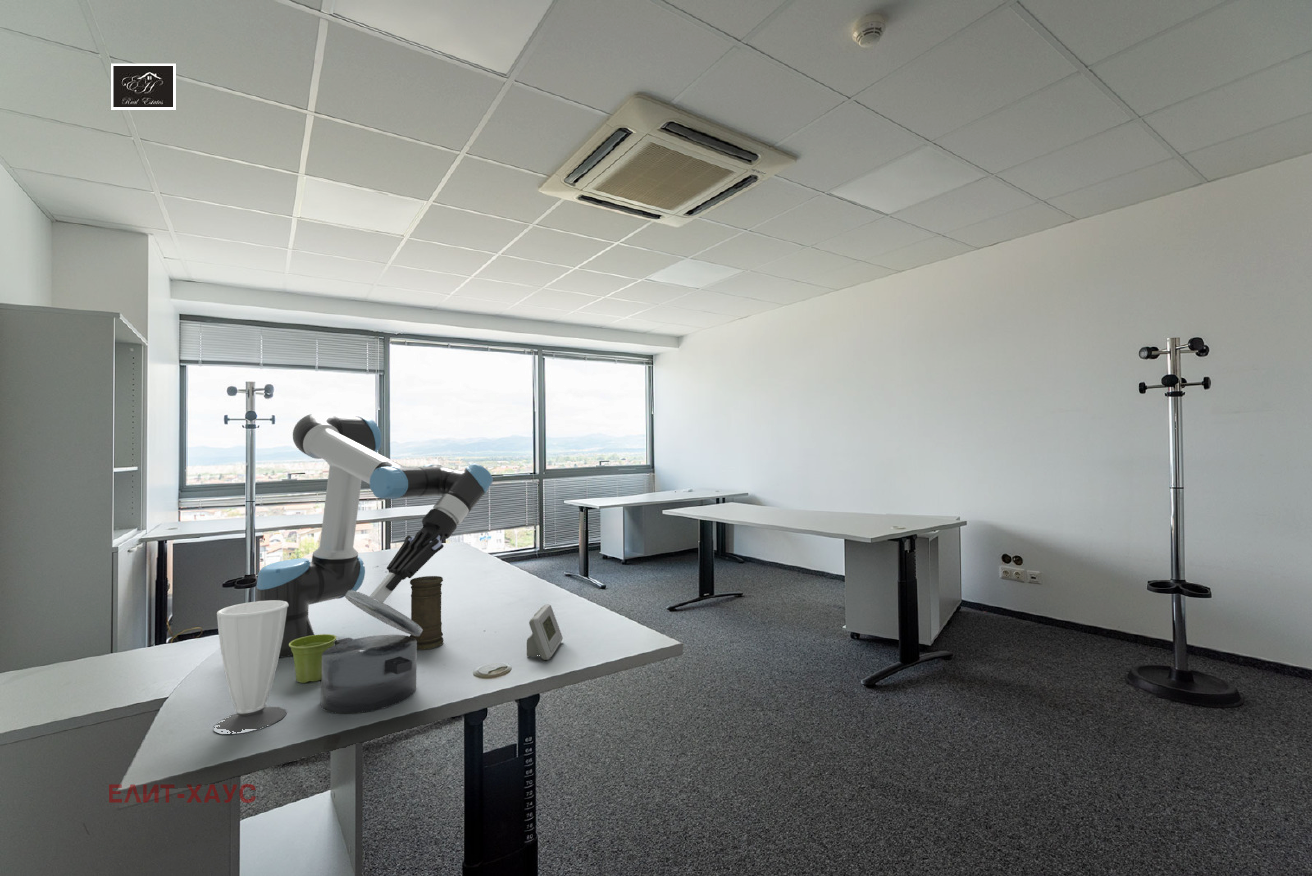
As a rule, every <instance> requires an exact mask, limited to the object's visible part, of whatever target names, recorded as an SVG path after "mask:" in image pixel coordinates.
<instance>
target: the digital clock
mask: <svg viewBox="0 0 1312 876" xmlns="http://www.w3.org/2000/svg"><path fill="white" fill-rule="evenodd" d="M528 623H529V624H528V625H529V628H530V631H531V634H530V635H529V637H528V638H527V639H526V657H527V656H537V655H538V656H539V655H540V656H541V657H540V658H541V659H542V660H544V661H549V660H550V659H551V658H552V656H553V655H554V653H555V652H556V651H557V649H558V647H559V646H560V644H561V643H562V641H563V639H564V638H563V635H562V632H561V629H560V626H559V623H558V621H557V618H556V615H555V612H554V609H553V608H552V605H551V604H548V603H547V604H544V605H542V607H540V609H539V610H537V612H536V613H535V614H534V615H533V616H532V617H531V619H530V620H529V622H528Z"/></svg>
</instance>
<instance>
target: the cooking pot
mask: <svg viewBox="0 0 1312 876" xmlns="http://www.w3.org/2000/svg"><path fill="white" fill-rule="evenodd" d="M417 653H418V650H417V640H416V639H415V638H413V637H410V635H405V634H381V635H379V634H378V635H371V636H370V635H369V636H364V637H359V638H355V639H353V638H351V637H345V638H342V639H338V640H337V639H336V640H335V641H334V645H333V646H332V647H330V648H328V649H327V650H325V651H324V652H323V653H322V676H321V681H320V684H321V688H320V707H321V709H323V710H324V711H325V712H327V713H331V714H338V715H352V714H353V715H354V714H362V713H369V712H374V711H379V710H383V709H386V708H389V707H393V706H394V705H397V704H400V703H401V702H403V701H405V700H407V699H409V698H410V697H411V696H413V695H414V693H416V690H417V668H418V667H417V665H418V664H417V663H418V662H417V658H418V657H417V656H418V654H417Z"/></svg>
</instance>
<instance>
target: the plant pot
mask: <svg viewBox="0 0 1312 876" xmlns="http://www.w3.org/2000/svg"><path fill="white" fill-rule="evenodd" d="M335 641H337V636H336V635H335V634H330V633H329V634H328V633H324V634H323V633H322V634H315V635H312V636H306V637H302V638H299V639H296V640H293V641H292V642H290V643H289V647H291V651H292V653H293V655H292V656H293V664H294V672H295V673H294V674H295V681H296V682H298V683H301V684H306V683H308V682H318V681H320V680H321V676H322V653H323V652H324V651H325V650H327V649H328V648H330V647H332V646H334V645H335Z"/></svg>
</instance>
